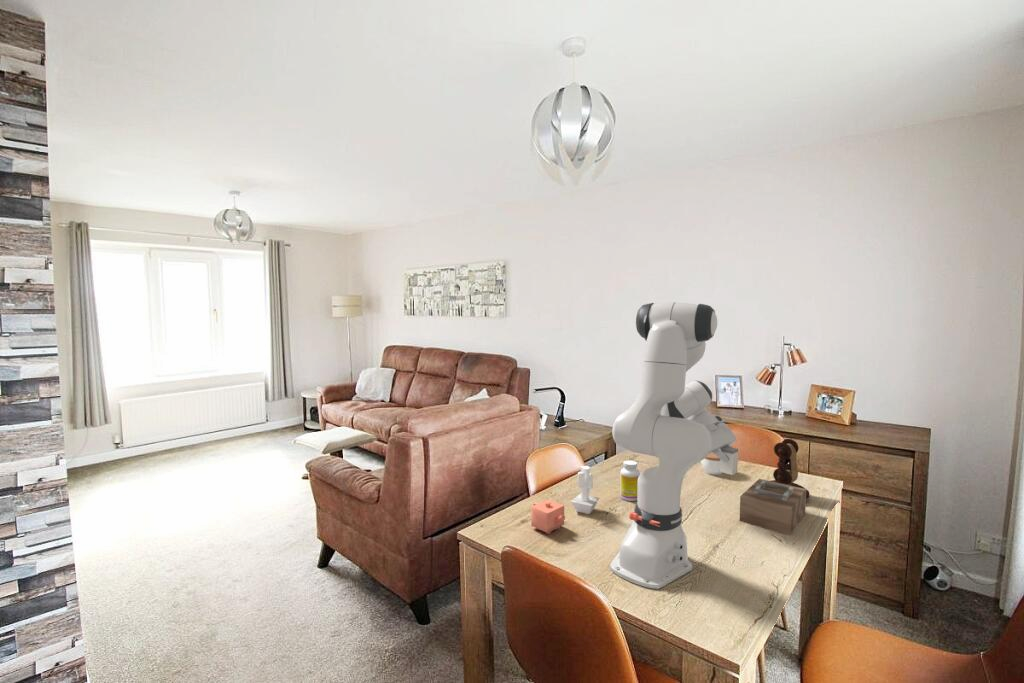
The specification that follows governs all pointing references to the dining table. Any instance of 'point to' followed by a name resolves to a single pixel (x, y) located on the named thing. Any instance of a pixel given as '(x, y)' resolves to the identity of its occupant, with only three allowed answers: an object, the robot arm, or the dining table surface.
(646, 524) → the robot arm
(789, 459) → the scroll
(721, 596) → the dining table surface
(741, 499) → the block
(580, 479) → the figurine
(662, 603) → the dining table surface
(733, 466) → the grey white rectangular block
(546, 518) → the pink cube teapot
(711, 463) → the lidded jar
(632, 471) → the supplement bottle
